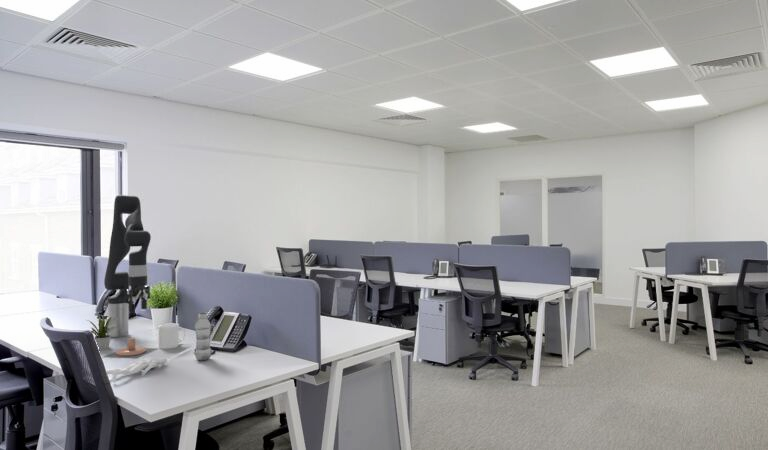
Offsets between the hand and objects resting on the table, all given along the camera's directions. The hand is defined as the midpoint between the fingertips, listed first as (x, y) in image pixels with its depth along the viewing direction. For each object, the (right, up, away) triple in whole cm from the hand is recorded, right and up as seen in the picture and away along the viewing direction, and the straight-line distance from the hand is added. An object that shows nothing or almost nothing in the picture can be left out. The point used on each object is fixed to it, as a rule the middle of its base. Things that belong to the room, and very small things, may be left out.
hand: (138, 310), depth 215 cm
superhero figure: (+15, -20, -28) cm, 37 cm away
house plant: (-18, -19, +5) cm, 27 cm away
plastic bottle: (+33, -20, -10) cm, 40 cm away
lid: (-2, -18, -2) cm, 19 cm away
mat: (-2, -19, -2) cm, 19 cm away
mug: (+11, -19, +10) cm, 24 cm away
